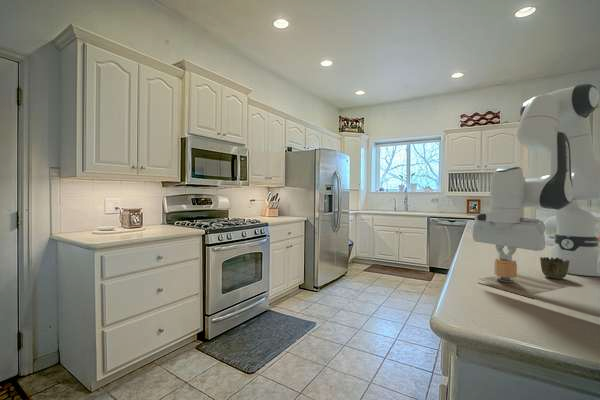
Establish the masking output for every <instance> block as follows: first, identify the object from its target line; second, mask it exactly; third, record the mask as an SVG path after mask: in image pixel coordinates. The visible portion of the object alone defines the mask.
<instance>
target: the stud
mask: <svg viewBox="0 0 600 400" xmlns="http://www.w3.org/2000/svg"><path fill="white" fill-rule="evenodd" d="M497 280H498V281H500V282H505V283H514V280H513V279H510V278H507V277H498V278H497Z"/></svg>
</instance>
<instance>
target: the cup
mask: <svg viewBox="0 0 600 400" xmlns="http://www.w3.org/2000/svg"><path fill="white" fill-rule="evenodd" d="M539 259H540V260H539V261H540V267H541V272H542V274H543V275H544V276H545V277H547V278H548V279H552V280H561V279H564V278H566V276H567V275H568V273H567V272H568V267H569V261H568V260H566V262H565V261H564V262H563V260H562V259H559V258H555V259H553V258H552V257H551V259H550V257H548V256H546V257H545V256H543V257H541V256H540V257H539Z"/></svg>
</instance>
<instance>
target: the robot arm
mask: <svg viewBox="0 0 600 400" xmlns="http://www.w3.org/2000/svg"><path fill="white" fill-rule="evenodd" d="M599 100H600V95H599V92H598V89H597V87H596V86H594V85H593V84H591V83H583V84H577V85H575V86H571V87H567V88H562V89H561V88H560V89H557V90H552V92H549V93H544V94H539V95H535V96H534V97H532V98H530V99H528V100H526V101H525V102H524V103H523V104H522V106H521V107H520V112H519V113H520V119H519V124H518V126H517V130H516V131H517V132H516V138H517V141H518V142H519V144H520V145H522V147H525V148H527V149H530V150H533V151H536V152H542V153H543V152H544V153H547V154H550V174H547V175H543V176H541V177H531V178H529V177H524V172H523V168H522V167H520V166H507V167H501V168H497V169H495V170H493V172H492V176H491V180H490V191H489V192H490V194H489V195H490V197H491V202H490V206H489V210H488V211H485V212H481V213H478V214H477V213H476V214H475V215H474V221H475V222H474V224H473V227H472V240H473V241H474V242H475V243H482V244H489V245H494V246H495V250H496V251H497V253H498V258H499V259H502V260H507V261H511V260H513V255H514V254H515V252H516V251H517V249H521V250H522V249H523V250H528V251H535V252H536V251H537V252H538V251H539V252H540V251H543V250H545V248H546V238H545V237H546V235H545V231H546V229H545V227H546V226H545V223H544V222H543V221H541V220H540V219H538V218H525V213H524V212H525V209H524V208H536V209H537V208H539V209H547V210H553V212H554V214H555V222H556V223H555V224H556V225H555V227H556V233H555V234H554V243H555V244H554V245H553V246H552V247H550V253H549V259H551V257H552V258H553V259H555V258H559V259H562V260H563V262H564V261H565V262H566V260H568V261H569V267H568V272H567V274H570V275H571V274H572V275H577V276H578V275H579V276H586V277H587V276H590V277H600V248H599V243H600V237H599V236H596V229H597V228H596V227H597V226H596V224H597V222H596V220H597V219H596V217H595V215H594V214H593V213H591V212H590V211H588V210H586V209H583V208H581V207H580V206H579V204H578V201H600V160H599V159H598V157H597V155H596V153H595V149H594V142H593V136H592V130H591V129H592V127H591V122H590V120H589V116H590V114H592V113H593V112H594V111H595V110H596V109H597V108H598V106H599V103H600V101H599ZM572 171H573V172H572ZM505 247H507V251H508V252H507V253H505V251H504V250H503V249H504V248H505Z"/></svg>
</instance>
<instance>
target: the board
mask: <svg viewBox="0 0 600 400" xmlns="http://www.w3.org/2000/svg"><path fill="white" fill-rule="evenodd" d="M498 277H501V276H497V275H495V276H488V277H481V278H480V277H479V280H481V281H484V282H488V283H492V284H496V285H499V286H502V287H506V288H509V289H514V290H517V291H520V292H525V293H528V294H531V295H532V294H533V295H537V294H542V293H545V292H549V291H554V290H555V291H556V290H558V289H564V288H568V287H571V285H569V284H564V283H560V282H555V281H551V280H548V279H547V280H546V279H542V278H538V277H533V276H529V275H524V274H521V273H517V277H515V278H510V279H513V280H514V283H505V282H500V281H498V280H497V278H498ZM477 284H479V285H482V286H485V287H489V288H492V289H496V290H498V291H499V290H500V291H503V292H506V293H511V294H514V295H517V296H520V297H521V296H522V297H525V298H528V299H531V300H536V298H535V297H530V296H527V295H523V294H519V293H516V292H513V291H509V290H505V289H501V288H498V287H495V286H491V285H489V284H484V283H481V282H477Z"/></svg>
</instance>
